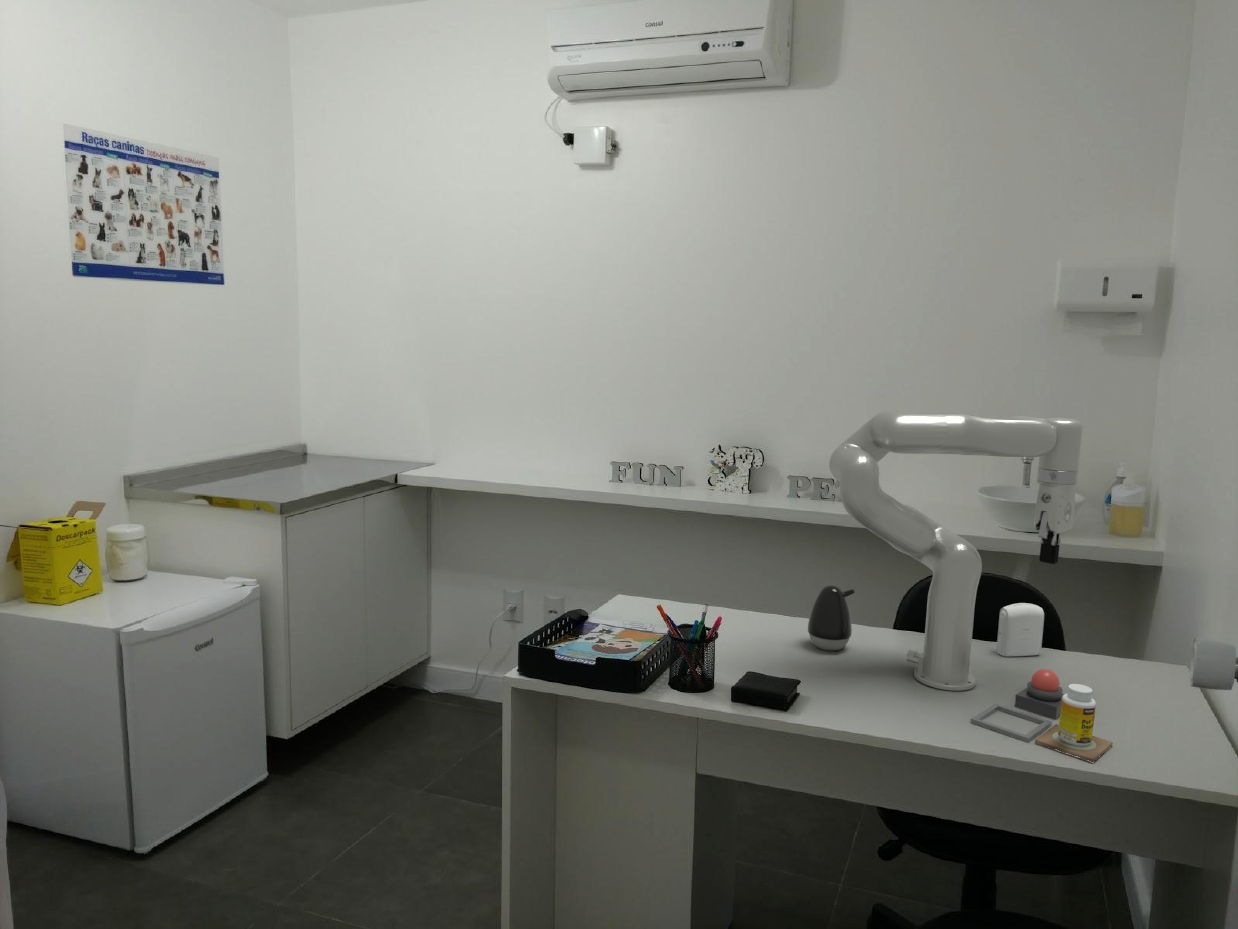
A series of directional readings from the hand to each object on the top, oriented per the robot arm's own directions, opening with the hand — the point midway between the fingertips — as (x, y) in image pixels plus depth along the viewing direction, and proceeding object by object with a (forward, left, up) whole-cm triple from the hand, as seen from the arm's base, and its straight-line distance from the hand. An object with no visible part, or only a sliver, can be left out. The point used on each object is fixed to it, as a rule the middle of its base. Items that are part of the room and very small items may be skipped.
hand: (1048, 562), depth 188 cm
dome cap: (+6, -12, -27) cm, 30 cm away
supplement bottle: (+17, -25, -26) cm, 40 cm away
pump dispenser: (-42, -16, -27) cm, 53 cm away
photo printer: (-10, +15, -27) cm, 33 cm away
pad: (+16, -25, -27) cm, 40 cm away
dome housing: (+6, -12, -27) cm, 30 cm away
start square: (+5, -25, -27) cm, 37 cm away
